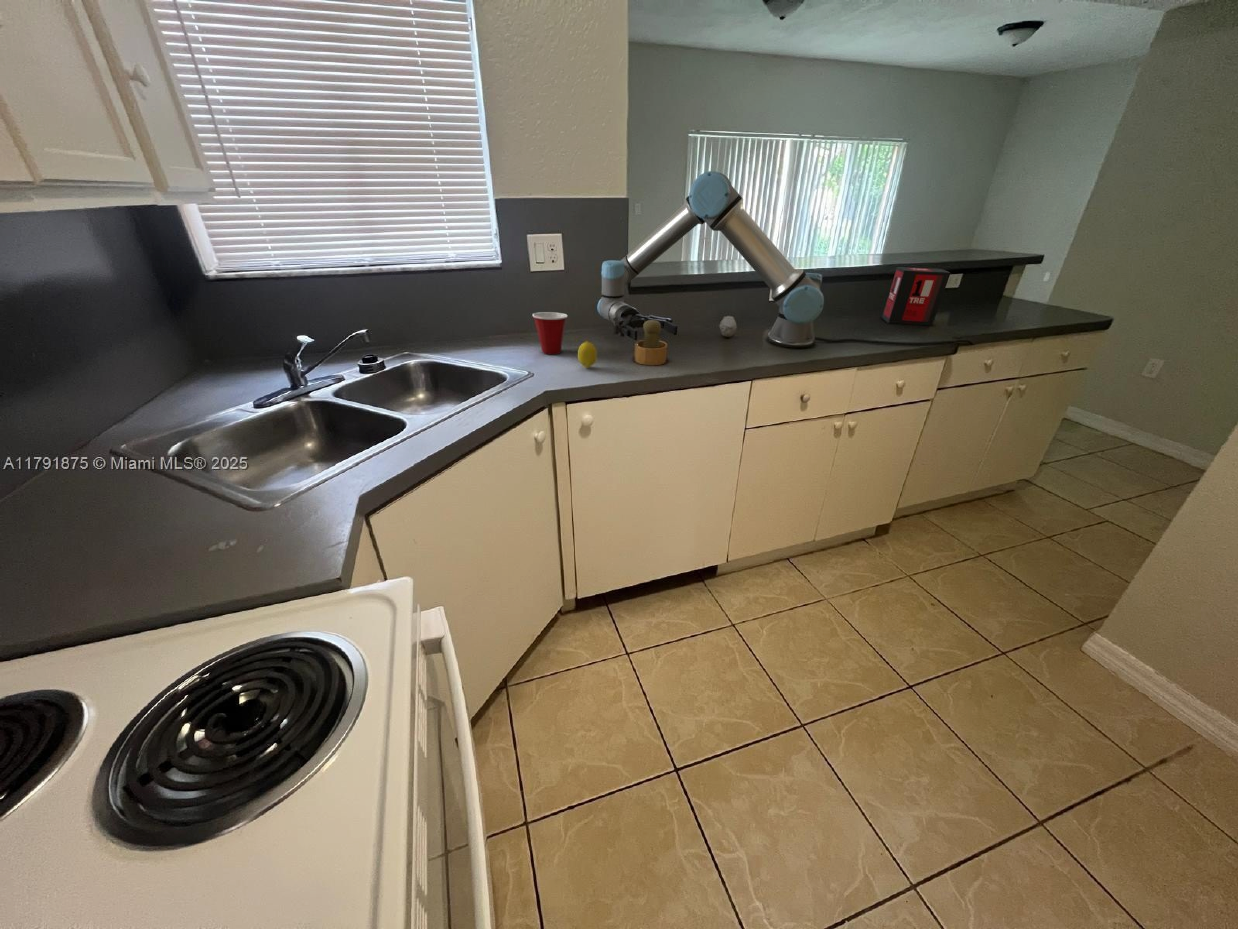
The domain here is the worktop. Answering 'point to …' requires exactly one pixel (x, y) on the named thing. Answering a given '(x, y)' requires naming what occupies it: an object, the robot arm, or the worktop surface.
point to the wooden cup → (650, 354)
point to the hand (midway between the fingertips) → (656, 333)
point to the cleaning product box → (915, 295)
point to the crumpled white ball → (728, 326)
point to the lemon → (587, 354)
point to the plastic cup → (550, 330)
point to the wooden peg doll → (651, 334)
